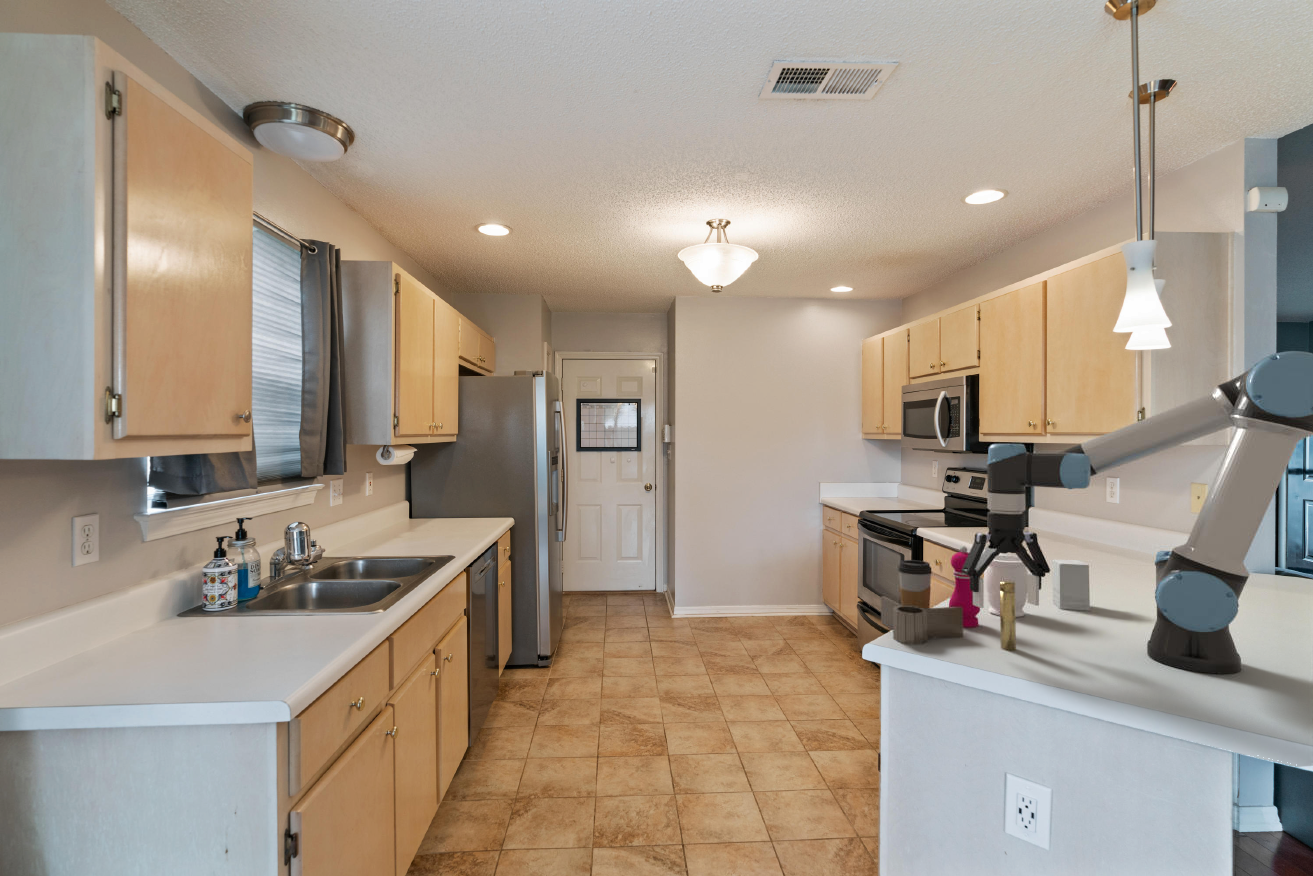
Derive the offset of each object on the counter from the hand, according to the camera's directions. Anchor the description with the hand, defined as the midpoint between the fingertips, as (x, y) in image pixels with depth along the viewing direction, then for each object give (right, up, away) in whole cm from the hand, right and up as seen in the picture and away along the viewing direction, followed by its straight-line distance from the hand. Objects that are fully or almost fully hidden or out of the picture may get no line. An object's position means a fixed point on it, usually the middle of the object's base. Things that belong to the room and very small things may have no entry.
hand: (1005, 605), depth 143 cm
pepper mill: (0, -10, +19) cm, 21 cm away
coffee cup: (-11, -10, +23) cm, 28 cm away
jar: (+16, -10, +28) cm, 34 cm away
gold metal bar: (0, -10, 0) cm, 10 cm away
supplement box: (+37, -10, +34) cm, 51 cm away
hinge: (-15, -10, +13) cm, 22 cm away
